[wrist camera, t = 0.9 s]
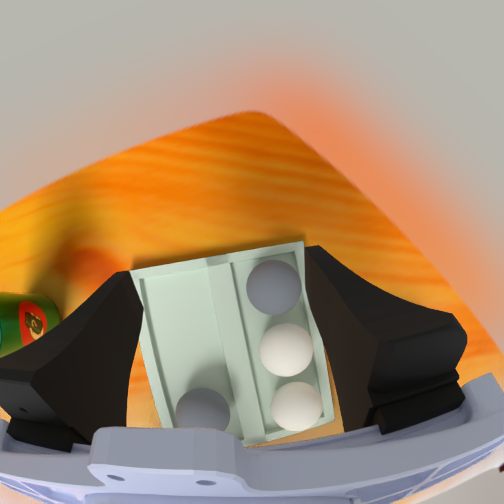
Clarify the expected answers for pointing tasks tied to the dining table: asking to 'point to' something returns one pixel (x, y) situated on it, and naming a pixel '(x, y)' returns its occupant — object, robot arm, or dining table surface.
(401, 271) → the dining table surface
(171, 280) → the rack
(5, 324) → the soda can
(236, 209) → the dining table surface
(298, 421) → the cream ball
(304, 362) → the cream ball middle
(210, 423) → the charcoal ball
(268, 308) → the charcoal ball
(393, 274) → the dining table surface
